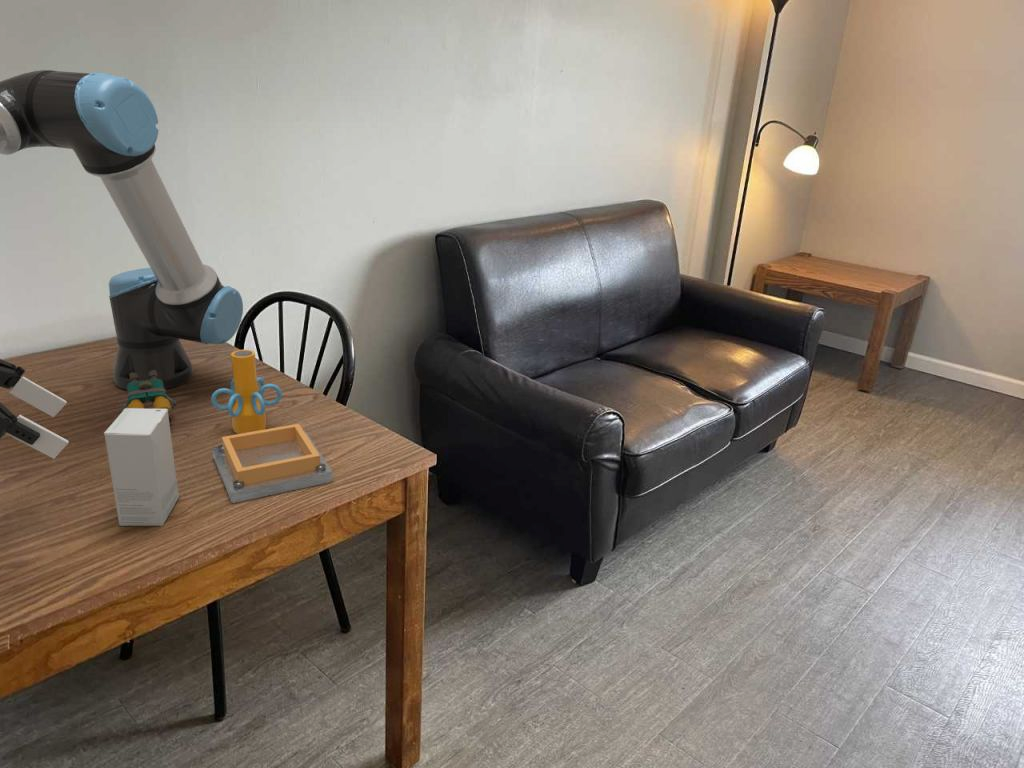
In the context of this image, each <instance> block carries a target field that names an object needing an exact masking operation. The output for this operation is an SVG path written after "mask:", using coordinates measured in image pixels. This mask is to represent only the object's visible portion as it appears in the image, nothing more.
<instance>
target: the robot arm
mask: <svg viewBox="0 0 1024 768" xmlns="http://www.w3.org/2000/svg"><path fill="white" fill-rule="evenodd" d="M158 124H159V119H158V115H157V111H156V108H155V106H154V104H153V102H152V100H151V99H150V97H149V96H148V94H147V93H146V92H145V91H144V89H143V88H142V87H140V85H138V84H136V83H135V82H134V81H133V80H131V79H128V78H126V77H122V76H117V75H112V74H109V73H106V72H105V73H104V72H90V73H88V72H73V71H72V72H71V71H60V70H59V71H58V70H57V71H56V70H49V69H41V70H33V71H29V72H24V73H21V74H19V75H15V76H13V77H9V78H6V79H3V80H1V81H0V154H1V155H4V156H5V155H7V156H8V155H14V154H16V153H17V152H20V151H22V150H25V149H29V148H37V147H38V148H39V147H40V148H41V147H44V148H47V147H50V148H51V147H52V148H59V149H60V148H61V149H68V150H69V149H71V150H73V152H74V153H75V156H76V157H77V159H78V160H79V162H80V164H81V165H82V167H83V169H84V170H85V172H86V173H87V174H89V175H92V176H93V177H95V176H96V177H99V179H100V180H101V182H102V183H103V185H104V187H105V188H106V190H107V192H108V193H109V196H110V197H111V199H112V201H113V203H114V205H115V206H116V208H117V210H118V212H119V213H120V215H121V217H122V219H123V221H124V223H125V225H126V226H127V228H128V229H129V231H130V234H131V235H132V236H133V239H134V241H135V242H136V244H137V245H138V248H139V250H140V252H141V253H142V255H143V257H144V258H145V260H146V263H147V264H148V266H149V267H145V268H137V269H132V270H128V271H124V272H120V273H118V274H116V275H113V276H112V277H111V278H110V279H109V282H108V289H109V290H108V291H109V296H108V298H109V302H110V303H109V304H110V308H111V313H112V319H113V324H114V329H115V334H116V340H117V352H116V357H115V359H114V364H113V365H114V366H113V369H112V370H113V371H112V374H113V382H114V384H115V386H116V387H118V388H119V389H122V390H124V391H127V385H128V384H129V383H131V381H130V376H129V373H137V374H138V376H139V381H145V380H150V379H149V375H148V373H149V372H150V371H153V370H156V371H157V376H158V378H157V379H160V380H162V382H163V385H164V389H165V390H167V389H172V388H174V387H178V386H181V385H183V384H185V383H187V382H188V381H189V380H191V379H192V378H193V375H194V374H193V373H194V372H193V367H192V366H193V365H192V363H191V361H190V358H189V356H188V354H187V352H186V350H185V348H184V347H183V345H182V343H181V341H180V340H185V341H190V342H196V343H200V344H201V343H202V344H204V345H210V344H212V345H222V344H225V343H227V342H229V341H230V340H231V339H232V338H233V337H234V336H235V335H236V333H237V331H238V330H239V327H240V325H241V322H242V318H243V314H244V313H243V312H244V303H243V302H244V301H243V298H242V295H241V293H240V292H239V290H237V289H236V288H234V287H232V286H229V285H228V286H227V285H226V286H224V285H223V284H222V282H221V280H220V278H219V276H218V274H217V272H216V270H215V269H214V268H213V267H212V266H210V265H207V264H203V262H202V260H201V258H200V255H199V254H198V251H197V249H196V248H195V245H194V243H193V240H191V237H190V235H189V234H188V231H187V229H186V227H185V224H184V223H183V221H182V219H181V217H180V215H179V212H178V211H177V208H176V207H175V205H174V203H173V201H172V199H171V196H170V194H169V192H168V191H167V188H166V186H165V184H164V182H163V180H162V178H161V176H160V174H159V172H158V170H157V168H156V166H155V164H154V161H153V156H154V155H155V154H156V153H155V152H156V150H157V149H156V142H157V139H158V135H159V129H158V128H157V126H156V125H158ZM25 372H26V370H25V368H23V367H21V366H17V365H15V364H14V363H11V362H9V361H6V360H4V359H1V358H0V388H4V389H8V390H9V389H10V390H9V392H8V393H9V394H11V395H12V396H14V397H15V398H18V399H20V400H22V401H24V402H25V403H27V404H29V405H31V406H33V407H34V408H36V409H38V410H40V411H42V412H43V413H45V414H47V415H49V416H50V417H52V418H55V417H56V416H57V414H58V413H59V412H60V411H61V410H62V409H63V408H64V406H65V405H66V404H67V400H65V399H64V398H62V397H60V396H58V395H57V394H55V393H53V392H51V391H49V390H48V389H46V388H44V387H42V386H41V385H39V384H37V383H35V382H33V381H32V380H30V379H29V378H27V377H25V376H23V375H24V374H25ZM4 435H6V436H9V437H10V438H13V439H14V440H17V441H19V442H20V443H23V444H24V445H26V446H28V447H30V448H32V449H34V450H36V451H38V452H40V453H41V454H43V455H46V456H47V457H50V458H51V459H53V460H54V459H56V457H57V456H58V455H59V454H61V452H62V451H63V449H64V448H66V446H67V445H68V444H69V440H68V439H66V438H64V437H62V436H60V435H59V434H57V433H55V432H53V431H51V430H49V429H47V427H44V426H42V425H40V424H38V423H36V422H35V421H33V420H31V419H29V418H27V417H25V416H23V415H22V414H19V415H18V416H16V415H15V414H14V413H13V412H12V411H11V410H10V409H8V408H7V407H6V406H5V405H4V404H3V403H2V402H1V401H0V439H1V438H2V437H3V436H4Z"/></svg>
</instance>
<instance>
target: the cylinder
mask: <svg viewBox="0 0 1024 768" xmlns="http://www.w3.org/2000/svg"><path fill="white" fill-rule="evenodd" d="M230 356H231V368H232V375H233V379H232V380H231V381H230V389H229V388H226V387H223V388H222V387H221V388H218V389H216V390H215V391H214V392H213V393H212V395H211V397H210V398H211V399H210V401H211V405H213V407H214V408H215V409H218V410H220V411H226V410H227V412H228V414H229V416H230V417H231V424H232V430H233V432H234V433H235V434H242V433H248V432H254V431H259V430H265V429H267V426H268V425H267V424H268V423H267V414H266V413H267V412H266V406H275V405H277V404H278V403H279V402H280V401H281V400H282V396H283V393H282V390H281V388H280V387H279V386H278V385H276V384H273V383H268V384H266V383H265V380H264V379H263V378H262V377H258V374H257V364H256V353H255V351H254V350H251V349H238V350H235V351H232V352H231V353H230ZM258 383H260V388H259V386H258ZM268 389H273V390H275V391H276V393H277V395H276V398H275V399H274V400H271V401H270V400H269V401H268V400H266V399H264V397H263V396H264V394H265V391H266V390H268ZM222 393H226V394H229V396H230V397H229V399H228V403H227V404H226V405H221V404H219V403H218V401H217V397H218V395H220V394H222Z"/></svg>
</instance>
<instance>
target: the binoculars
mask: <svg viewBox="0 0 1024 768" xmlns="http://www.w3.org/2000/svg"><path fill="white" fill-rule="evenodd" d="M148 375H149V379H150V380H145V381H139V376H138V374H137V373H129V376H130V381H131V383H129V384H128V385H127V390H126V391H127V394H126V396H127V400H126V401H125V403H123V405H121V406H120V407H119V411H120V414H121V413H122V412H123V410H124V409H125V408H141V409H146V408H145V405H144V404H145V403H147V401H148V402H150V403H152V409H168V416H169V424H172V423H173V420H174V419H173V417H172V414H171V412H172V411H173V410H174V409H175V408H176V404H177V402H176V400H175V399H174V398H172V397H169V395H167V391H166V390H167V389H164V385H163V382H162V380H160V379H157V378H158V376H157V371H156V370H153V371H150V372H149V373H148ZM170 402H172V405H171V403H170Z"/></svg>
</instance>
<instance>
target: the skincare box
mask: <svg viewBox="0 0 1024 768" xmlns="http://www.w3.org/2000/svg"><path fill="white" fill-rule="evenodd" d="M122 411H123V412H122V413H121V412H120V414H119V415H118V416H117V417H116V418H115V420H114V421H113V422H112V424H110V426H109V427H107V429H106V430H105V431H104V432H103V435H104V439H105V445H106V451H107V458H108V464H109V471H110V475H111V482H112V483H111V484H112V487H113V488H112V489H113V496H114V501H115V502H114V503H115V507H116V512H117V518H118V519H117V520H118V525H119V526H120V527H149V526H150V527H158V526H159V527H163V526H164V524H165V522H166V520H167V519H168V517H169V516H170V514H171V512H172V510H173V508H175V506H176V503H177V501H178V500H179V498H180V494H179V489H178V487H179V486H178V480H177V472H176V465H175V457H174V450H173V448H174V447H173V441H172V435H171V434H172V433H171V425H170V424H171V423H170V424H169V416H168V409H153V408H145V409H141V408H127V407H126V408H124V409H123V410H122Z"/></svg>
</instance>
